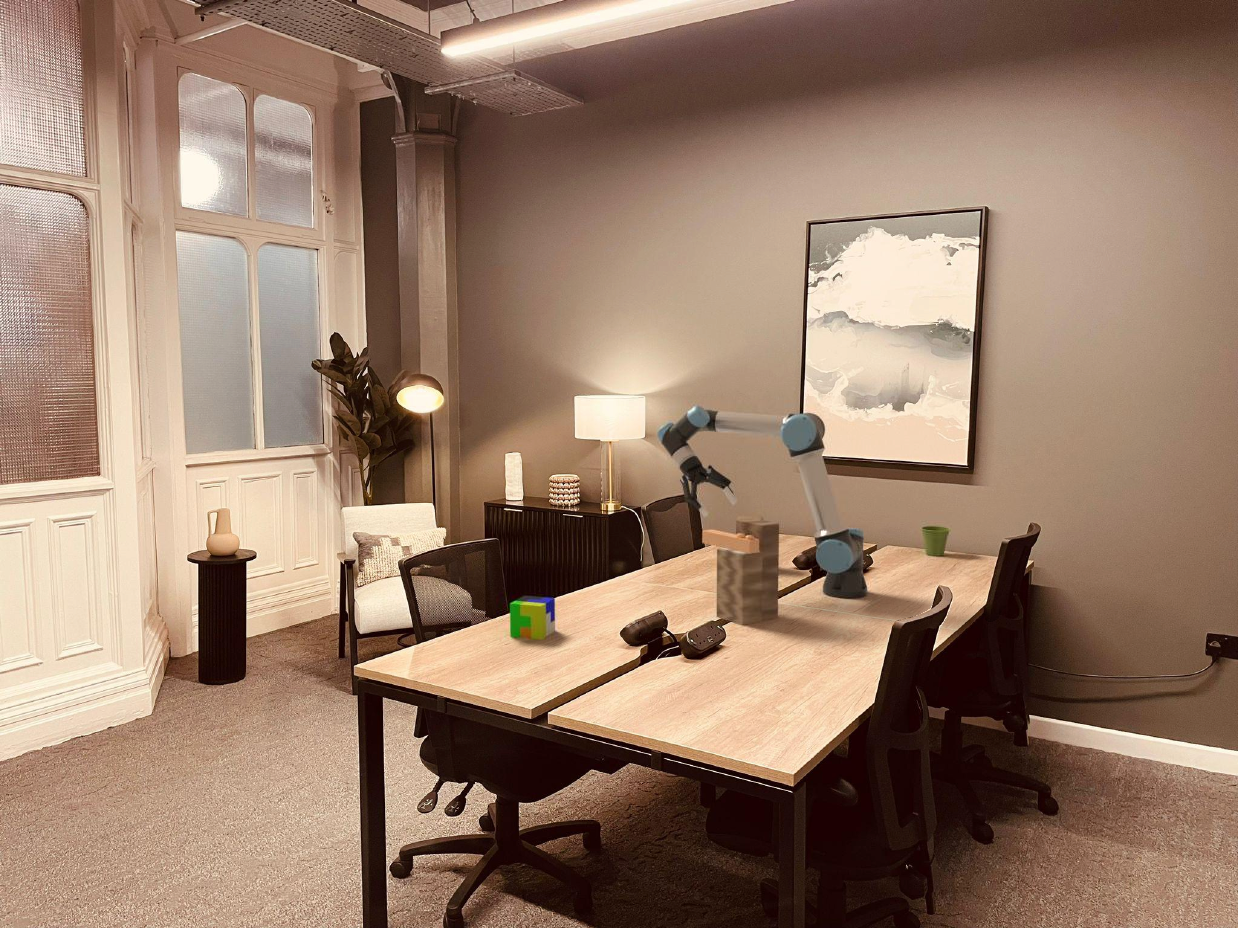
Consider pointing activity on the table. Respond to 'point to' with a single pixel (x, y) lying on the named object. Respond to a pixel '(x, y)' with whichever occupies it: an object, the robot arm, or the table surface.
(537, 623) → the puzzle toy
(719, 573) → the step stand
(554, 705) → the table surface
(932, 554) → the plant pot
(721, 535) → the orange beam
